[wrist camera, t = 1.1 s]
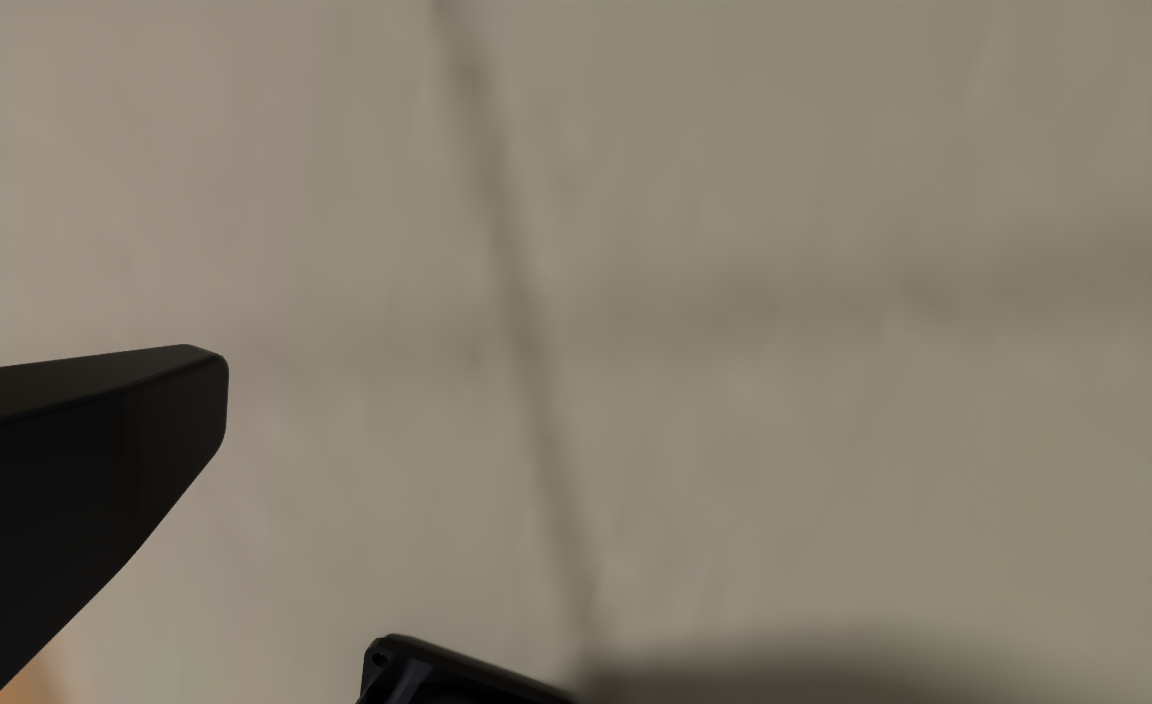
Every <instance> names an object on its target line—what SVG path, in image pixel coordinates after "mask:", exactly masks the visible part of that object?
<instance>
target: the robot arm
mask: <svg viewBox="0 0 1152 704" xmlns="http://www.w3.org/2000/svg"><path fill="white" fill-rule="evenodd" d="M228 385H229V367H228V364H227V361H226V360H225V359H224V358H223V356H221V355H219V354H217V353H214V352H211V351H208V350H205V349H202V348H199V347H196V346H193V345H189V344H179V345H171V346H163V347H155V348H147V349H139V350H131V351H123V352H115V353H107V354H99V355H91V356H83V357H75V358H67V359H59V360H51V361H43V362H35V363H27V364H19V365H11V366H3V367H0V691H1V690H2V689H3V688H4V687H5V686H6V685H7V684H8V683H9V682H10V681H11V680H12V679H13V677H14V676H15V675H16V674H17V673H18V672H19V671H20V670H21V669H22V668H23V667H24V666H25V665H26V664H27V663H28V662H29V661H30V660H31V659H32V658H33V657H34V656H35V655H36V654H37V653H38V652H39V651H40V650H41V649H42V648H43V647H44V646H45V645H46V644H47V643H48V642H49V641H50V640H51V639H52V638H53V637H54V636H55V635H56V634H57V633H58V632H59V631H60V630H61V629H62V628H63V627H64V626H65V625H66V624H67V623H68V622H69V621H70V620H71V619H72V618H73V617H74V616H75V615H76V614H77V613H78V612H79V611H80V610H81V609H82V608H83V607H84V606H85V605H86V604H87V603H88V602H89V601H90V600H91V599H92V598H93V597H94V596H95V595H96V594H97V593H98V592H99V591H100V590H101V589H102V588H103V587H104V586H105V585H106V584H107V583H108V582H109V581H110V580H111V579H112V578H113V577H114V576H115V575H116V574H117V573H118V572H119V571H120V570H121V568H122V567H123V566H124V565H125V564H126V563H127V562H128V561H129V560H130V558H131V557H132V556H133V555H134V554H135V553H136V552H137V550H138V549H139V548H140V547H141V546H142V544H143V543H144V542H145V541H146V539H147V538H148V537H149V536H150V535H151V533H152V532H153V531H154V530H155V528H156V527H157V526H158V525H159V523H160V522H161V521H162V520H163V518H164V517H165V516H166V515H167V513H168V512H169V511H170V510H171V508H172V507H173V506H174V505H175V504H176V502H177V501H178V500H179V499H180V497H181V496H182V495H183V494H184V492H185V491H186V490H187V489H188V487H189V486H190V485H191V484H192V482H193V481H194V480H195V479H196V477H197V476H198V475H199V474H200V473H201V471H202V470H203V469H204V468H205V466H206V465H207V464H208V463H209V461H210V460H211V459H212V458H213V456H214V455H215V454H216V452H217V451H218V449H219V447H220V445H221V443H222V441H223V438H224V435H225V430H226V419H227V402H228ZM381 654H382V655H384V656H385V657H386V658H385V657H383V656H381ZM355 704H571V703H569V702H567V701H564V700H561V699H559V698H556V697H553V696H550V695H547V694H544V693H542V692H539V691H536V690H533V689H530V688H527V687H524V686H522V685H519V684H516V683H513V682H510V681H507V680H505V679H502V678H499V677H496V676H493V675H490V674H487V673H485V672H482V671H479V670H476V669H473V668H470V667H468V666H465V665H462V664H459V663H456V662H453V661H450V660H448V659H445V658H442V657H439V656H436V655H433V654H431V653H428V652H425V651H422V650H419V649H416V648H413V647H411V646H408V645H405V644H402V643H399V642H396V641H394V640H391V639H388V638H382V637H381V638H376V639H375V640H374V641H373V642H372V643H371V644H370V646H369V647H368V649H367V650H366V652H365V655H364V664H363V673H362V683H361V692H360V697H359V699H358V700H357V702H356V703H355Z"/></svg>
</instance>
